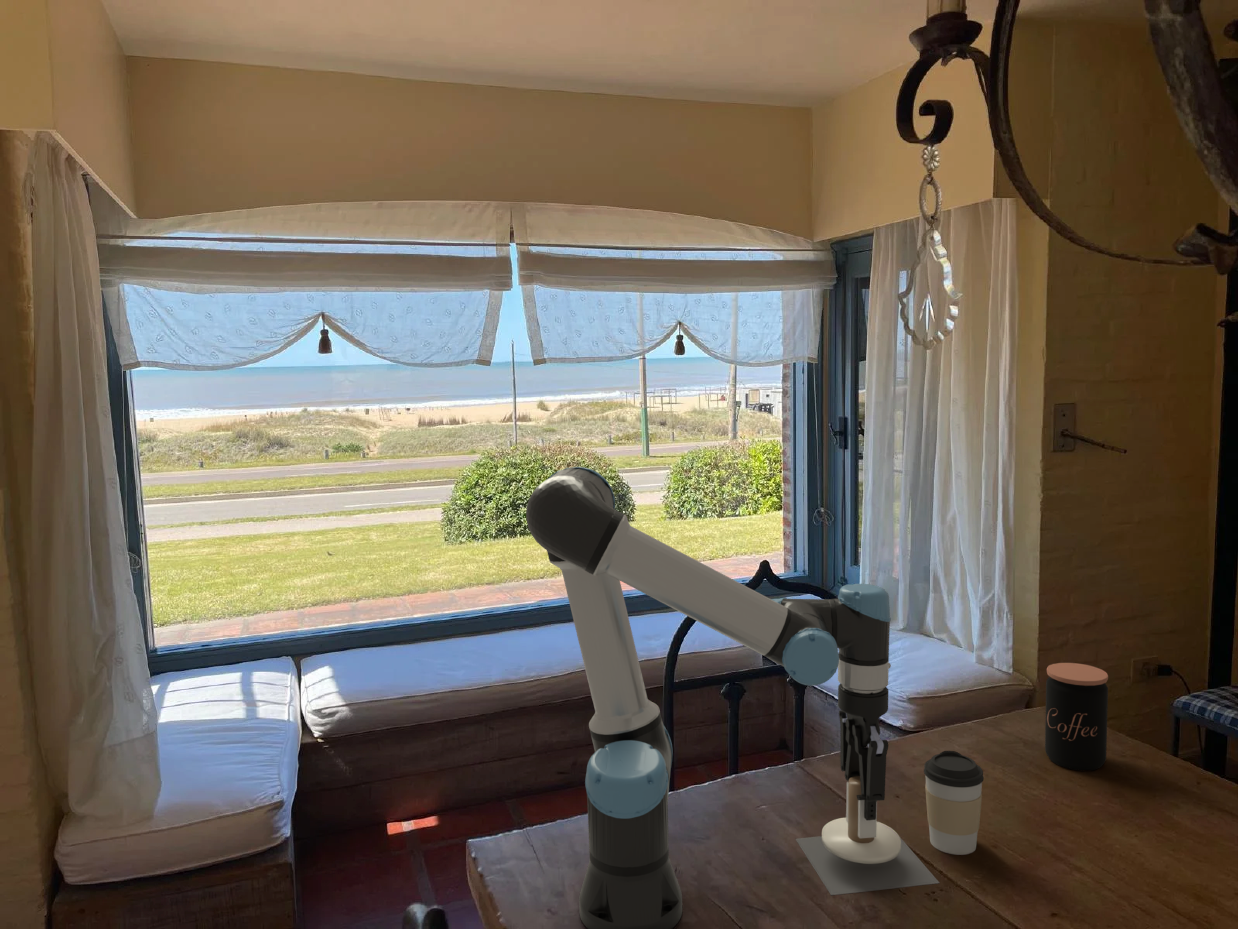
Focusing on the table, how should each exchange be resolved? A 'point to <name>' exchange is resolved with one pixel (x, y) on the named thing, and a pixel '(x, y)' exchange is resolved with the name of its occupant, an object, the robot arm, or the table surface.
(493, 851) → the table surface
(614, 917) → the robot arm
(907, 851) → the mat
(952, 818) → the coffee cup
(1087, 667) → the coffee jar
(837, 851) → the lid
